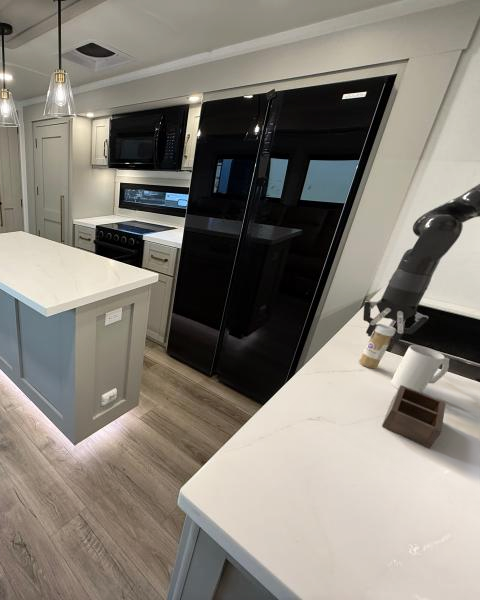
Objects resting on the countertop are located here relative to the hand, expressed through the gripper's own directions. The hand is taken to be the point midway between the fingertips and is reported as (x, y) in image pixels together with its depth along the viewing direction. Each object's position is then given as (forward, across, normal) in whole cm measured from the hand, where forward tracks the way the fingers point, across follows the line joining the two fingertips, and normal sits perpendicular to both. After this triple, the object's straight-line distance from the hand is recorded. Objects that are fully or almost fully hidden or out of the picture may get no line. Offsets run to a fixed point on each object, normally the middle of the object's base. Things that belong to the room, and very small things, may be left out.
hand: (380, 338), depth 93 cm
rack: (+10, -12, +24) cm, 28 cm away
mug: (+10, -10, +5) cm, 15 cm away
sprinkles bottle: (+10, 0, 0) cm, 10 cm away
